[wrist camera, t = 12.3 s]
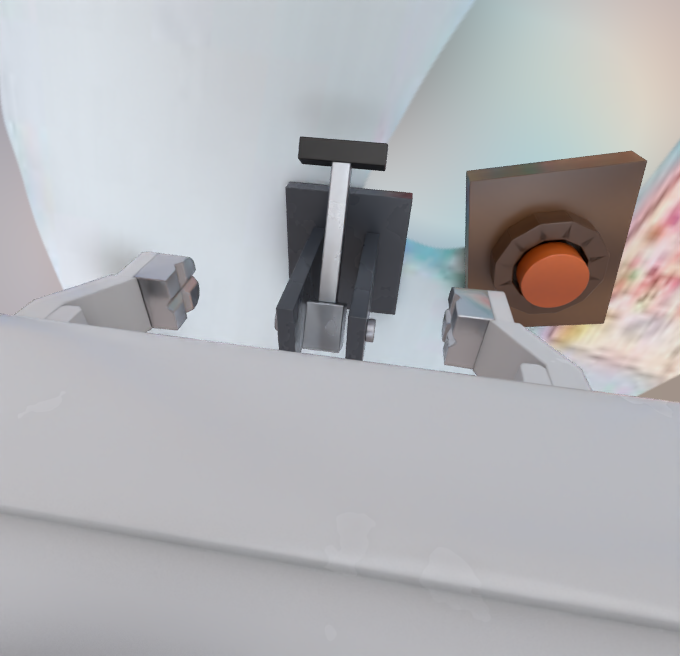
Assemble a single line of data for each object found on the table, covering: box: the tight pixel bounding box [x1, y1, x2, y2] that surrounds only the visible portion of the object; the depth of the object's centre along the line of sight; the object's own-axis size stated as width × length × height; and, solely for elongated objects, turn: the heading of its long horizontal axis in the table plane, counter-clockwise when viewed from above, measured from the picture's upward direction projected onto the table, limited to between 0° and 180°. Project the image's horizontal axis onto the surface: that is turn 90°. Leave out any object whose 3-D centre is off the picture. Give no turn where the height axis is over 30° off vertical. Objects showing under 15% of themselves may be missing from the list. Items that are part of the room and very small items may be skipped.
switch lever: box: [298, 137, 388, 353], centre depth 24 cm, size 12×5×2 cm
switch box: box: [465, 151, 647, 327], centre depth 29 cm, size 12×10×4 cm
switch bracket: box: [275, 182, 412, 361], centre depth 28 cm, size 10×9×12 cm
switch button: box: [516, 242, 589, 308], centre depth 27 cm, size 4×4×2 cm
